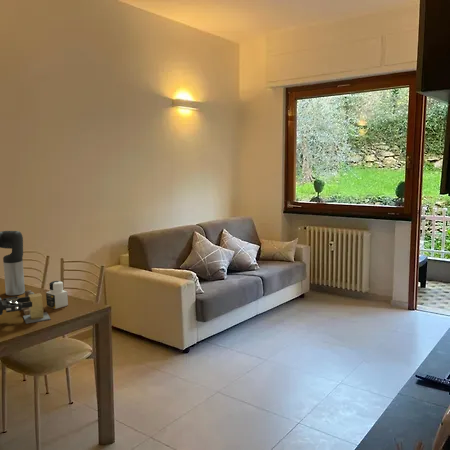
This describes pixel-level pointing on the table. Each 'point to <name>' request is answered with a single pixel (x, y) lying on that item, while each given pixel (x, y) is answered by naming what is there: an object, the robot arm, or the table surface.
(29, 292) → the plane base
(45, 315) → the rubber mat
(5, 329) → the table surface
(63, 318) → the table surface
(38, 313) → the tan wooden block
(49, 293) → the medicine bottle
